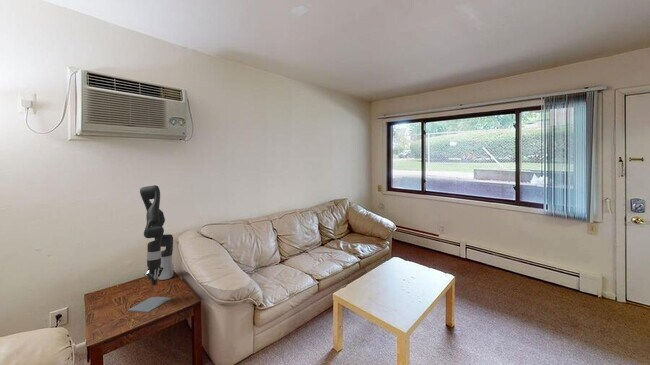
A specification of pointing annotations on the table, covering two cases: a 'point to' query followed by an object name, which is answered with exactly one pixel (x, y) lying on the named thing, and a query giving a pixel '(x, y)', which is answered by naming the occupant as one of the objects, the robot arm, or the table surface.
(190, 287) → the table surface
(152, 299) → the mat
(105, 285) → the table surface
